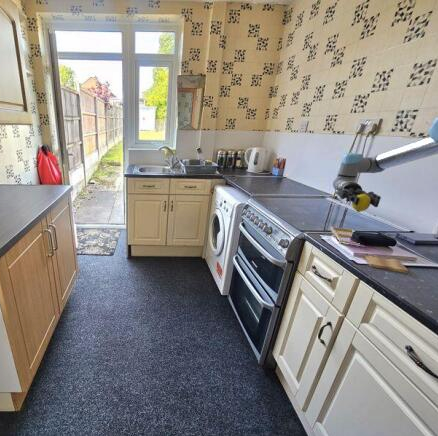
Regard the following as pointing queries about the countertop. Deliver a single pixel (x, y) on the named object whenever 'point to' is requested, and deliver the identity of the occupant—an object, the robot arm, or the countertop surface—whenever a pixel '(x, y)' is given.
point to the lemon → (362, 203)
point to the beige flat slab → (343, 234)
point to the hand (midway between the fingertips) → (367, 202)
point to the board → (386, 264)
